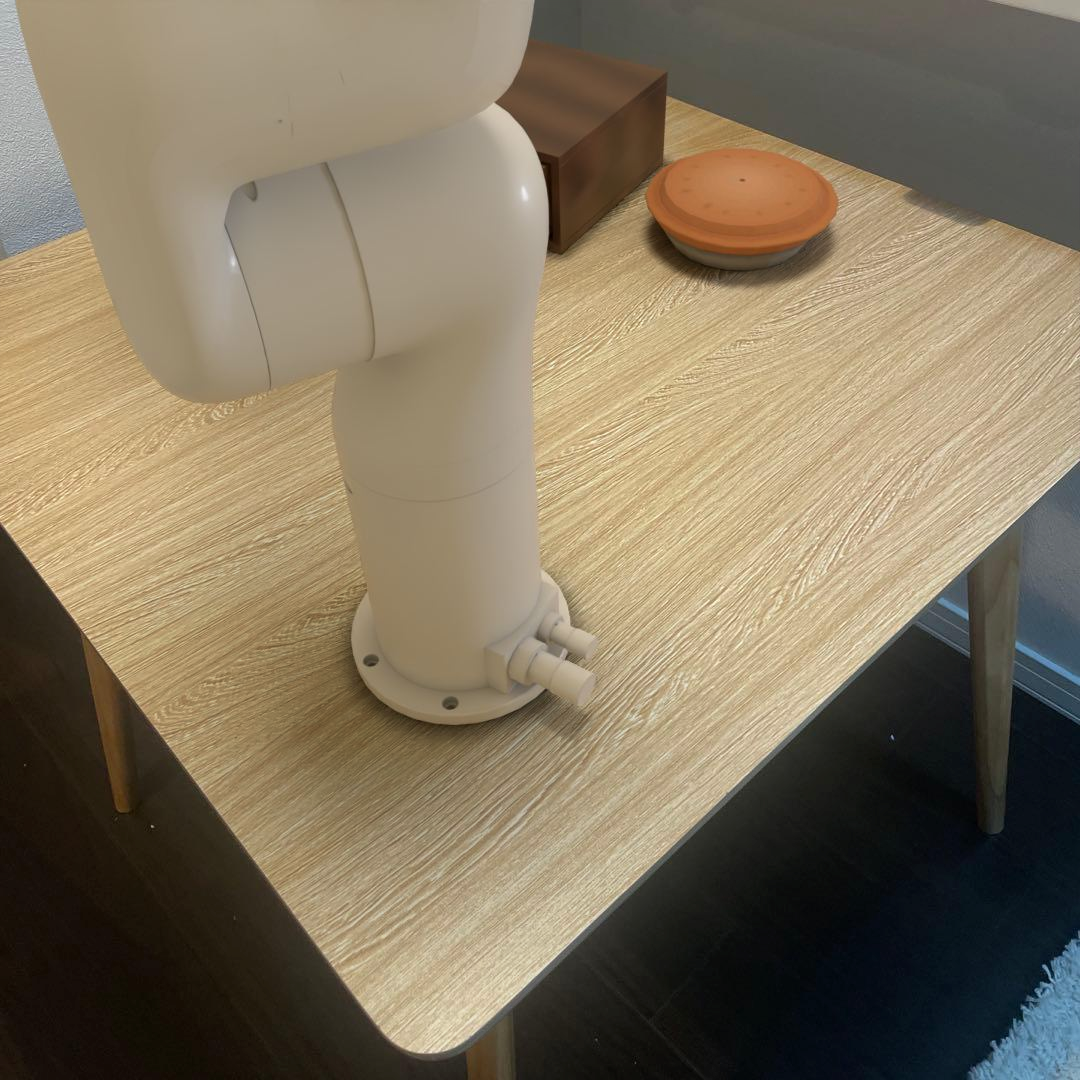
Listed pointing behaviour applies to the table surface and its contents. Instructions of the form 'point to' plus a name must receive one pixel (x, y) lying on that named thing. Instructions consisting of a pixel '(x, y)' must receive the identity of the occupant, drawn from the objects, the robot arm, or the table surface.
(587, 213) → the cabinet
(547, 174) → the drawer
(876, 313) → the table surface
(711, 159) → the pie
